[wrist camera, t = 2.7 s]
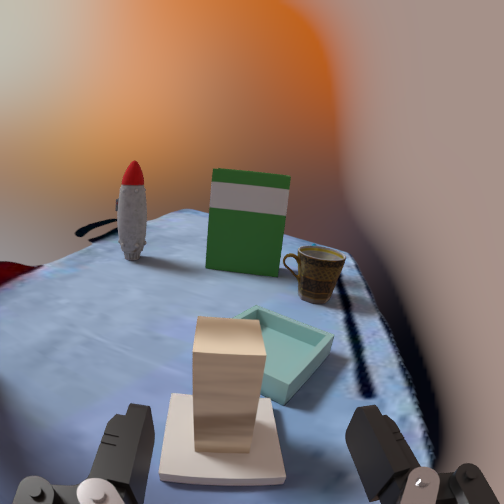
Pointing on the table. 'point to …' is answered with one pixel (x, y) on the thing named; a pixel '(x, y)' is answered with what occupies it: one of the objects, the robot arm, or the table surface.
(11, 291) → the table surface
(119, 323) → the table surface
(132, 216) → the toy rocket
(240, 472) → the white board
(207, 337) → the birch block
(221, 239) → the hardback book
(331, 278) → the ceramic cup
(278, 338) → the tray
